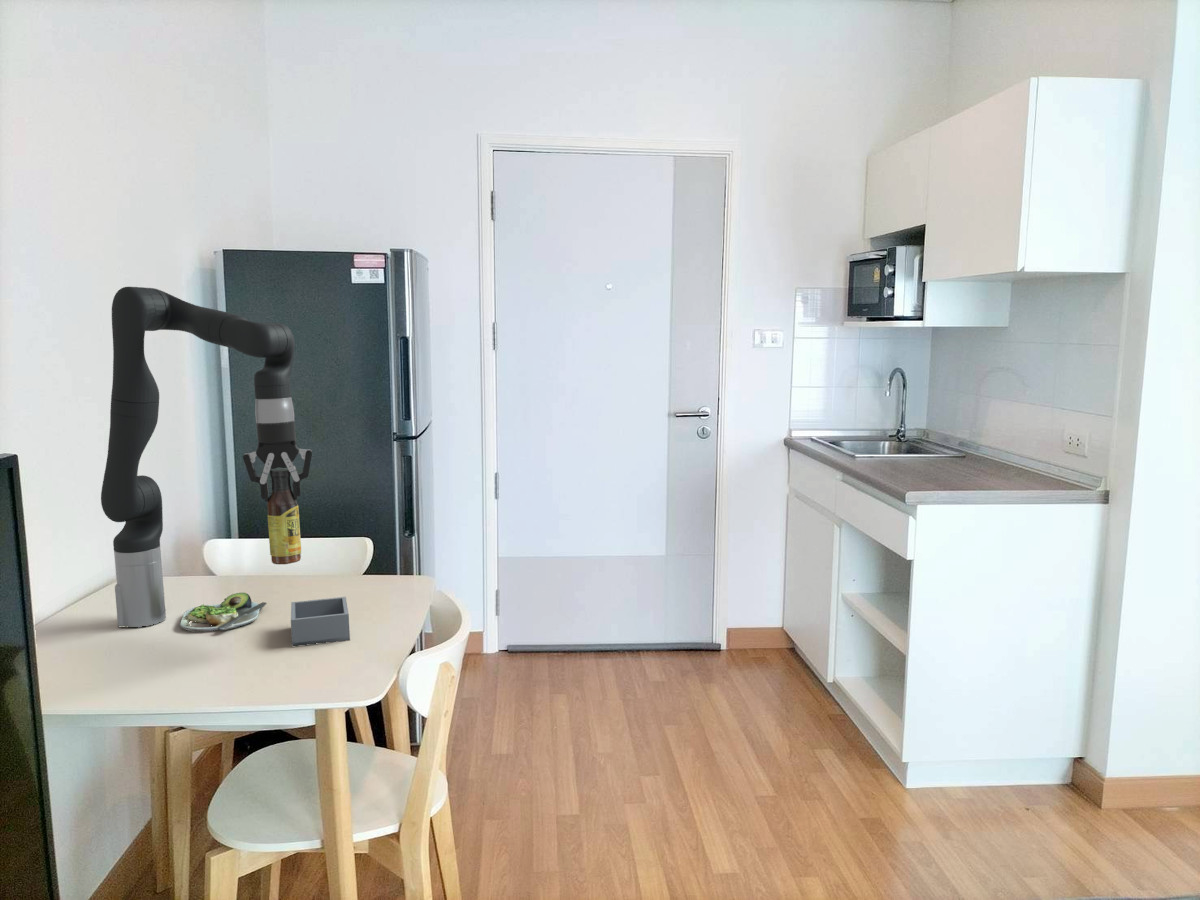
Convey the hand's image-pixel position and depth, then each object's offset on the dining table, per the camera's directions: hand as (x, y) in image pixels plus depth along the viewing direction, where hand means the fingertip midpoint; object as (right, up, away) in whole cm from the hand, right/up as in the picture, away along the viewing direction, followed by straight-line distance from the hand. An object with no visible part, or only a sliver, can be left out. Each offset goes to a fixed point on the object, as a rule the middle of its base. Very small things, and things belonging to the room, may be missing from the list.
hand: (281, 499), depth 182 cm
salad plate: (-19, -29, +16) cm, 39 cm away
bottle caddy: (+6, -30, +6) cm, 31 cm away
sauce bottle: (0, -14, +2) cm, 14 cm away
